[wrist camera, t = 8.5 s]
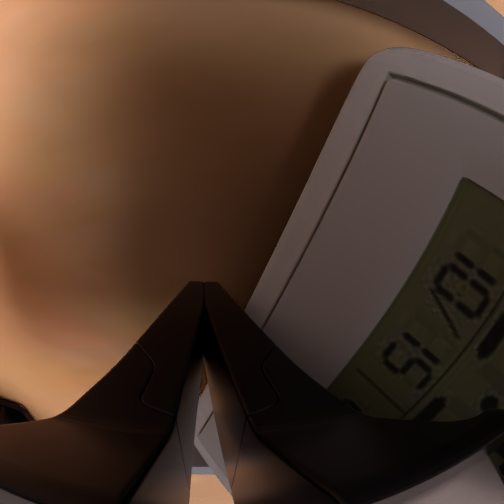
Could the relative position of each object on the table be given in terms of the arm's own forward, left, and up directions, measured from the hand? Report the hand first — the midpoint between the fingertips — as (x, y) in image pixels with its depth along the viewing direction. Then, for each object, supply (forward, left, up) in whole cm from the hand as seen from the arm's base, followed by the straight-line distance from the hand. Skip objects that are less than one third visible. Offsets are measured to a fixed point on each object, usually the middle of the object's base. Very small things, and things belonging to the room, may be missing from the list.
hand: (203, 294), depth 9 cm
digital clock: (0, -4, -1) cm, 4 cm away
